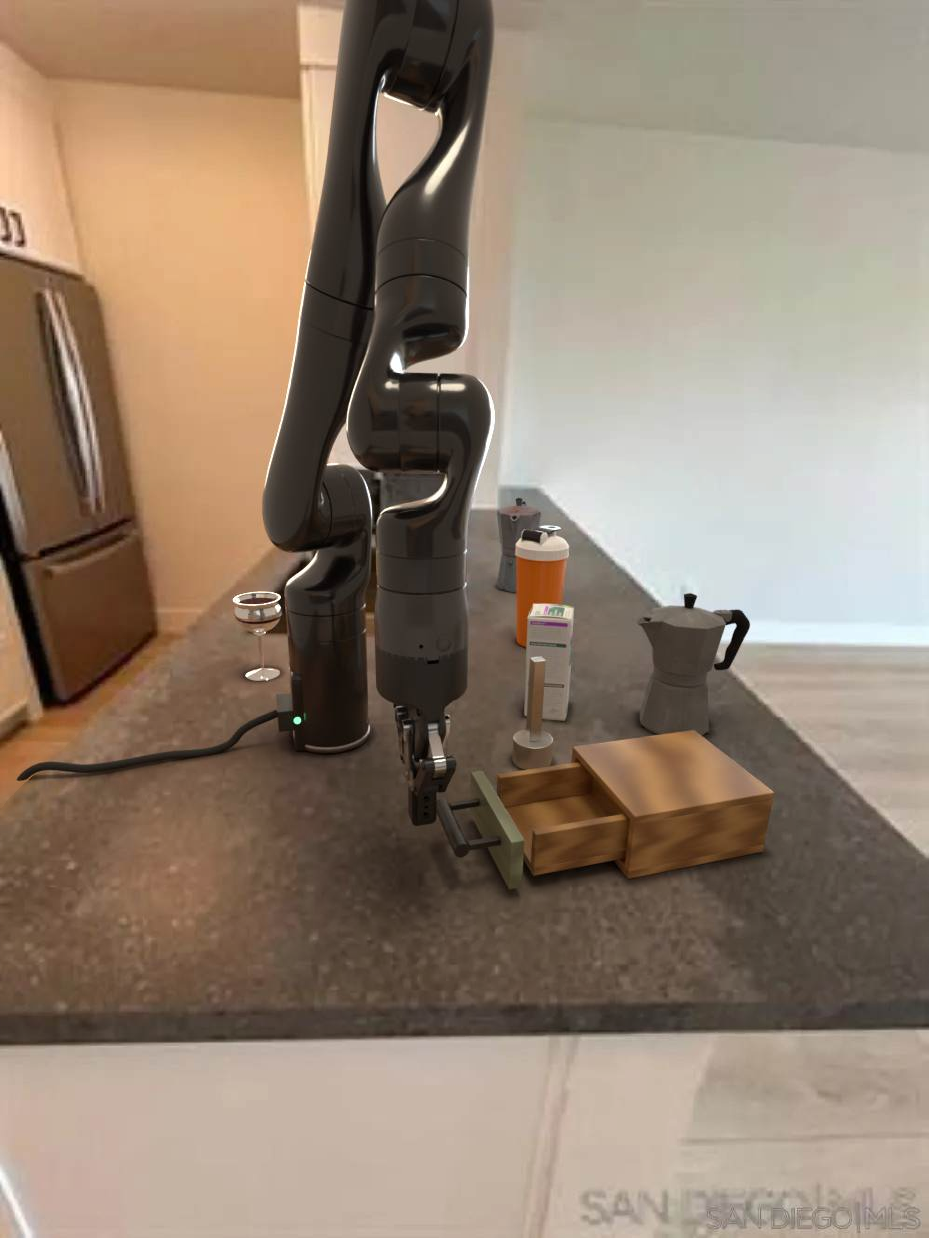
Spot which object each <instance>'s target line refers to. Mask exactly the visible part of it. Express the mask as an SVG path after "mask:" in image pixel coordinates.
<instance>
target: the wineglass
mask: <svg viewBox="0 0 929 1238" xmlns="http://www.w3.org/2000/svg"><path fill="white" fill-rule="evenodd" d="M280 599H281V595H280V594H278V593H275V592H271V591H253V592H252V591H251V592H246V593H242V594H239V595H236V596H234V598H232V601H233V603H234V605H235V606H234V608H233V616H234V619H235V622H236V624H237V625H238V626H240V627H241V628H243V629H244V630H245V631H247V632H250V633H253V634H254V635H255V636H256V638H257V645H258V653H259V661H260V667H258V668H254V669H251V670H249V671H248V672H247V673H246V674H245V677H246V678H247V679H248V680H251V681H255V682H256V681H258V682H262V681H269V680H273V679H275V678H277V677H279V676H280V675H281V672H280V670H279V669H277V668H275V667H265V662H264V659H265V658H264V635H265V634H266V632H268V631H270V630H272V629H273V628H274V627H276V625H278V623H279V622H280V621H281V618H282V616H283V610H282V606H281V604H280V603H279V601H280Z"/></svg>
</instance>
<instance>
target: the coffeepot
mask: <svg viewBox="0 0 929 1238" xmlns="http://www.w3.org/2000/svg"><path fill="white" fill-rule="evenodd" d="M697 599H698V595H697V594H694V593H691V592H688V593H684V594H683V604H684V605H672V604H671V605H665V606H661V607H656V608H652V609H650V614H645V615H642V617H639V618H638V619H637V621H636V624H637V625H638V626H640V627H641V628H642V630H643V631H644V633H645V635H646V637H647V639H648V641H649V643H650V646H651V652H652V653H651V655H652V656H651V657H652V664H653V670H652V673H651V674H650V676H649V680H648V683H647V687H646V690H645V693H644V697H643V700H642V703H641V706H640V709H639V721H640V725H641V726H643V727H644V728H645V729H646V730H648V731H649V732H651V733H653V734H655V735H661V734H669V733H676V732H683V731H690V730H694V731H696V732H697V733H698V734H700V735H701V736H702V737H704V735H705V734H706V733H709V732H710V717H709V716H710V715H709V689H708V688H709V687H708V681H707V679H708V673H709V672H711V671H712V669H713V668H714V670H715V671H725V670H729V669H730V668H731V666H732V664H733V662H734V660H735V658H736V657H737V655H738V652H739V651H740V648H741V645H742V644H743V642H744V640H745V638H746V636H747V634H748V633H749V630H750V627H751V623H750V619H748V616H746V614H745V613H744V611H743V610H741V609H739V608H737V609H716V610H714V611H710V610H707V609H704V608H702V607H701V608H700V607H698V606H695V604H696V601H697ZM734 624H735V628H734V630H733V633H732V635H731V639H730V642H729V644H728V645H727V647H726V649H725V652H724V658H723V660H722V661H720V662H717V663H714V662H715V659H716V656H717V653H718V651H719V648H720V647H719V646H720V644H721V641H722V638H723V636H724V632H725V629H726V626H729V625H734Z"/></svg>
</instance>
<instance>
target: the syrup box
mask: <svg viewBox="0 0 929 1238" xmlns="http://www.w3.org/2000/svg"><path fill="white" fill-rule="evenodd" d="M574 613H575V608H574V606H572V605H565V604H562V605H560V604H533V606H532V608H531V610H530V612H529V615H528V621H527V646H526V647H525V650H526V651H525V673H524V674H525V676H524V701H523V702H524V703H523V705H524V706H523V715H524V716H525V717H527V703H528V685H529V667H530V657H542V658H543V659H544V660H545V661H546V666H545V682H544V698H543V713H542V720H549V721H550V720H551V721H561V722H565V721H566V720H567V719H566V718H567V715H568V709H569V701H570V686H571V685H570V684H571V672H572V671H571V670H572V657H573V656H572V655H573V636H574V635H573V633H574Z"/></svg>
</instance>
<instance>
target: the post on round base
mask: <svg viewBox="0 0 929 1238" xmlns="http://www.w3.org/2000/svg"><path fill="white" fill-rule="evenodd" d="M545 666H546V661H545V660H544V659H543V658H542V657H530V667H529V685H528V703H527V716H526V723H525V729H522V730H519V731H517V732H515V734H514V735H513V738H512V758H511V759H512V763H513V765H515V766H516V767H517V768H519V769H521V770H529V769H536V768H543V767H550V766H552V758H553V757H552V756H553V745H554V739H553V736H552V735H551V734H549V733H548V732H546V731H544V730H542V729H543V728H542V727H543V719H542V713H543V698H544V682H545Z"/></svg>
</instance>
